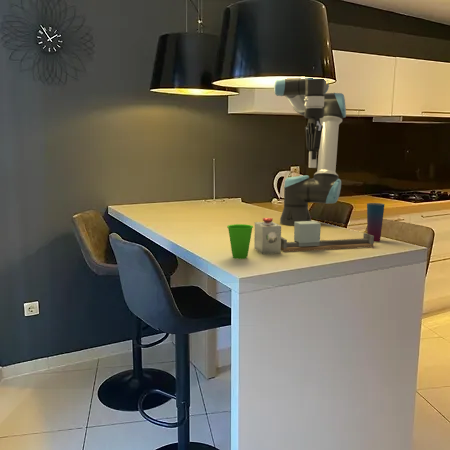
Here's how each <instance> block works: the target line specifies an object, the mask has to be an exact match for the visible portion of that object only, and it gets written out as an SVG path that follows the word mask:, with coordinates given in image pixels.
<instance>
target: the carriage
mask: <svg viewBox="0 0 450 450" xmlns="http://www.w3.org/2000/svg"><path fill="white" fill-rule="evenodd" d="M321 224H322V223H321V222H318V221H315V220H311V221H300V222H294V225H293V226H294V227H293V228H294V229H293V231H294V232H293V242H299V244H298V246H299V247H304V246H319V243H320V241H321Z"/></svg>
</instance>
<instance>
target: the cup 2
mask: <svg viewBox="0 0 450 450" xmlns="http://www.w3.org/2000/svg"><path fill="white" fill-rule="evenodd" d="M384 213H385V203H382V202H368V203H366V214H367V215H366V216H367V217H366V220H367V222H366V227H367V228H366V229H367V230H366V231H367V232H366V233H367V234H370V235H373V236H374V241H378V242H381V237H382V228H383V222H384Z"/></svg>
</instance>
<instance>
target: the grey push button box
mask: <svg viewBox="0 0 450 450" xmlns="http://www.w3.org/2000/svg"><path fill="white" fill-rule="evenodd" d="M253 236H254V238H253V239H254V240H253V241H254V244H253V245H254V250H256V251H257V252H258V253H259V254H261V255H271V254H273V255H275V254H282V253H281V252H282V250H281V237H282V225H281V224H278V223H276V222H274V221H272V223H271V225H264V221H256V222H254V235H253Z"/></svg>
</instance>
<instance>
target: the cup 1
mask: <svg viewBox="0 0 450 450" xmlns="http://www.w3.org/2000/svg"><path fill="white" fill-rule="evenodd" d="M227 229H228V230H227V231H228V235H229V242H230V249H231V254H232V257H233V258H232V259H236V260H243V259H244V260H245V259H247V258H248V255H249V249H250V243H251V237H252V232H253V229H254V225H251V224H246V223H245V224H244V223H243V224H241V223H236V224H235V223H234V224H229V225H227Z"/></svg>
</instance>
